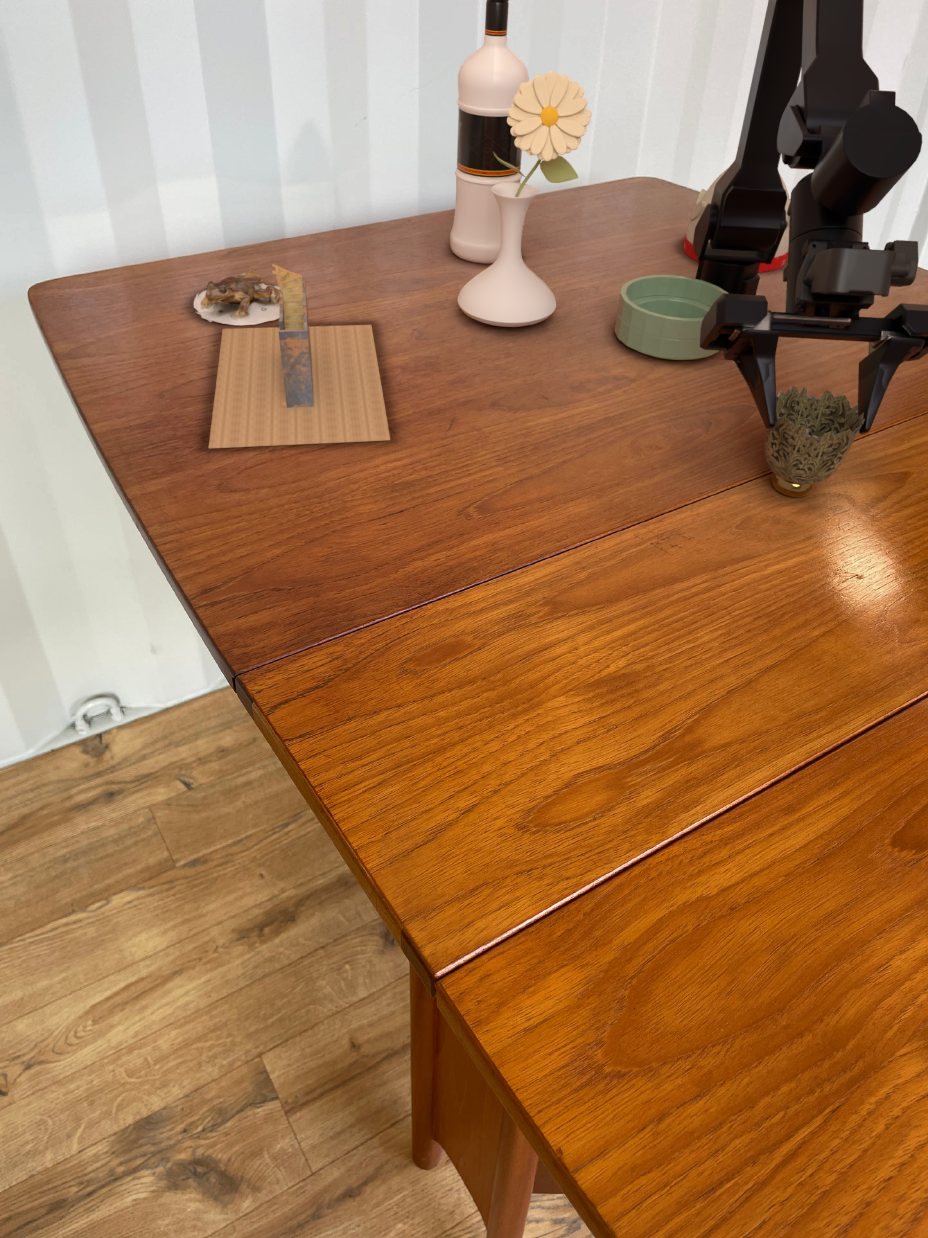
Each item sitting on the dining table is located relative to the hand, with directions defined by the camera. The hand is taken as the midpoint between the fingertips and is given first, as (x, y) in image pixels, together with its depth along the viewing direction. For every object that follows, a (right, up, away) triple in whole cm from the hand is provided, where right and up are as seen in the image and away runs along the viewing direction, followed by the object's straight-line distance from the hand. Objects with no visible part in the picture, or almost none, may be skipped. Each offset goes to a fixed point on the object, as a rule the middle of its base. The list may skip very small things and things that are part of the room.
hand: (816, 430), depth 73 cm
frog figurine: (-54, +21, +30) cm, 66 cm away
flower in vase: (-23, +19, +30) cm, 43 cm away
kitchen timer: (+8, +34, +48) cm, 60 cm away
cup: (0, -4, +6) cm, 7 cm away
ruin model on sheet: (-46, +9, +17) cm, 50 cm away
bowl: (-6, +16, +27) cm, 32 cm away
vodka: (-26, +33, +45) cm, 62 cm away
